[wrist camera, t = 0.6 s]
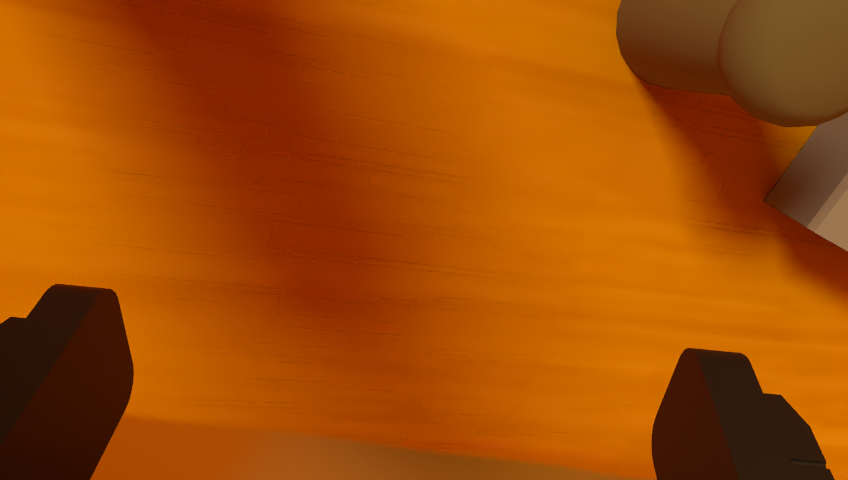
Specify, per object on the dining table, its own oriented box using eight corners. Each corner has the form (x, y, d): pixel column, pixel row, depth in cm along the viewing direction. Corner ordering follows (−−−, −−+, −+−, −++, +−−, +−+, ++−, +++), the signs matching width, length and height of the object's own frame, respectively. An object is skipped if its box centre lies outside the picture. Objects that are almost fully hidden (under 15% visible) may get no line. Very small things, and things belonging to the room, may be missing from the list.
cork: (775, -16, 32) (973, 1, 22) (701, 109, 34) (853, 179, 24) (661, -80, 31) (818, -92, 20) (591, 55, 32) (702, 104, 22)
